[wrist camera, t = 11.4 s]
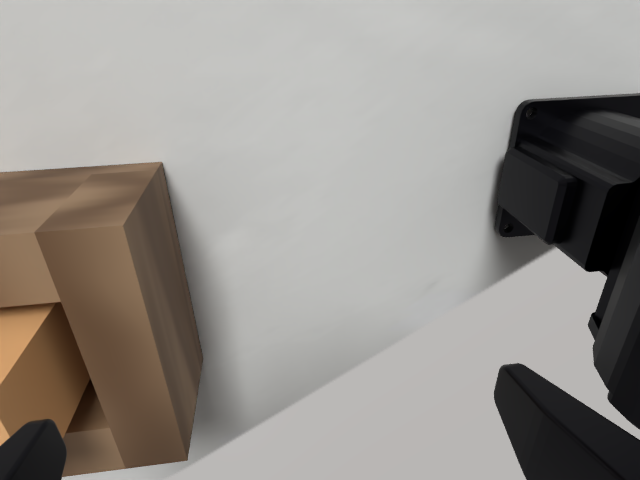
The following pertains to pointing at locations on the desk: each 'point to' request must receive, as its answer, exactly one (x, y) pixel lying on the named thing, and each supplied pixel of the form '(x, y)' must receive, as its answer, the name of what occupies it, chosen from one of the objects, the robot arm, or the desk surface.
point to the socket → (109, 304)
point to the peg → (38, 367)
